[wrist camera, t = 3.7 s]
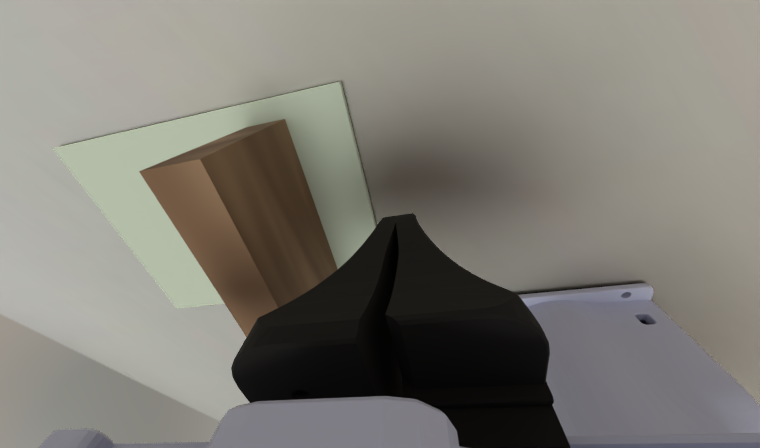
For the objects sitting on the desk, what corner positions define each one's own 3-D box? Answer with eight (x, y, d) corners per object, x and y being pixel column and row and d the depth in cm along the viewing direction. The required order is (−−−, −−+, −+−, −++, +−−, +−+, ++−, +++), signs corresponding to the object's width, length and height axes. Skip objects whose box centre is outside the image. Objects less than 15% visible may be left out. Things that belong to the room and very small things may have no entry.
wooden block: (284, 118, 13) (199, 158, 8) (341, 279, 18) (313, 375, 12) (246, 127, 14) (138, 171, 8) (312, 282, 18) (273, 377, 13)
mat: (341, 80, 13) (339, 81, 12) (390, 281, 18) (389, 286, 18) (60, 146, 15) (52, 148, 15) (180, 304, 21) (176, 308, 21)
